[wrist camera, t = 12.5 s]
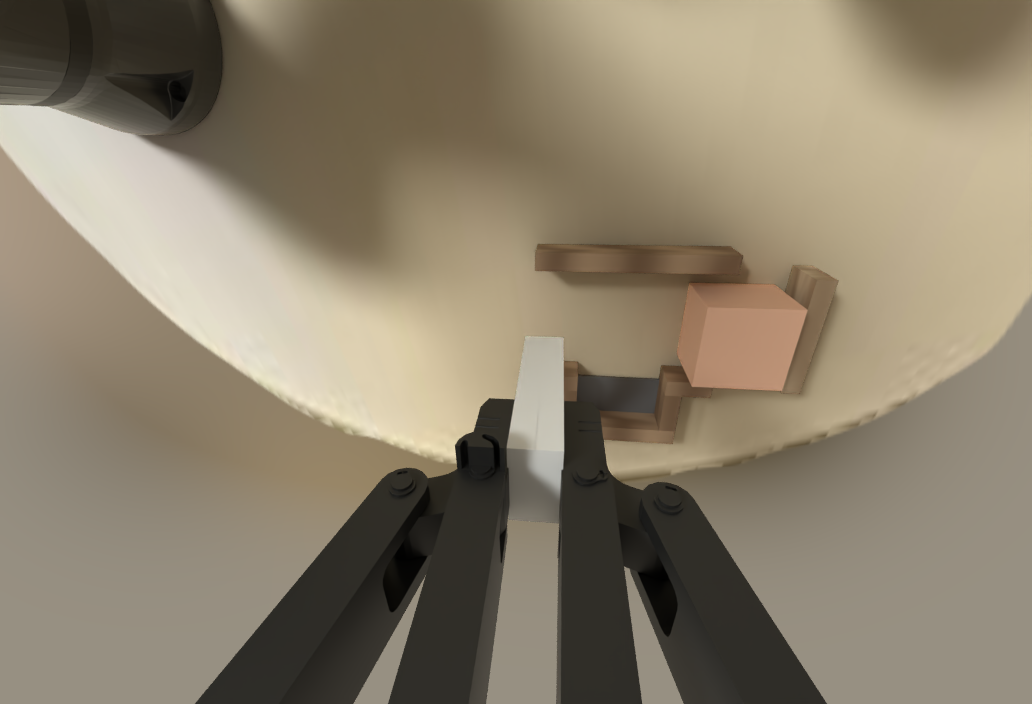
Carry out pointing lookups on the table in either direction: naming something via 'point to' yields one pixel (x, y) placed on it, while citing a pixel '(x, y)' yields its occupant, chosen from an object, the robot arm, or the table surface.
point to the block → (739, 335)
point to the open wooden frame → (655, 402)
